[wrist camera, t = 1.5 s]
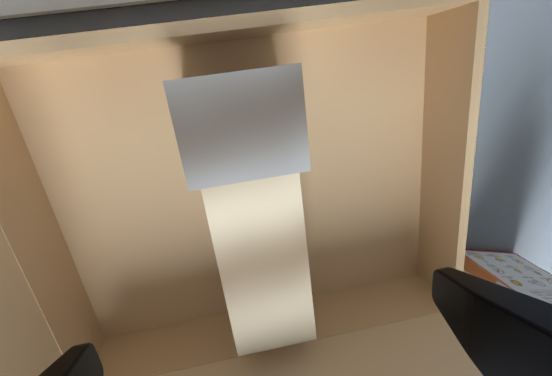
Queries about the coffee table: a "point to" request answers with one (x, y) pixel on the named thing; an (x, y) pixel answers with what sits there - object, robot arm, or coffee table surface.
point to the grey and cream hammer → (251, 194)
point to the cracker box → (510, 272)
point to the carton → (189, 204)
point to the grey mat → (60, 6)
